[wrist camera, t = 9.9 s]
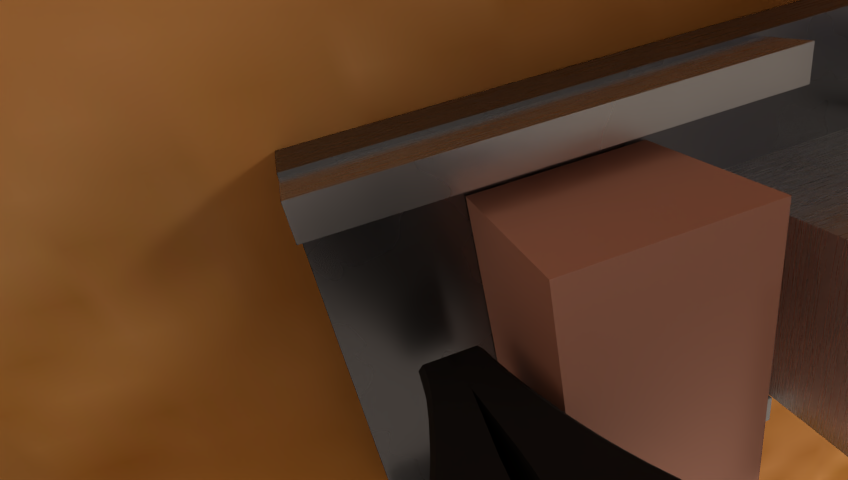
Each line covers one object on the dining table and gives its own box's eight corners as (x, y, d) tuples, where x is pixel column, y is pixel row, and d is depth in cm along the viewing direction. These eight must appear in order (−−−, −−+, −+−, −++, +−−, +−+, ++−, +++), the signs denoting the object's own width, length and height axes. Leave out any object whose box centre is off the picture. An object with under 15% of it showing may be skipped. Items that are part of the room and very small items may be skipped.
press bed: (921, -35, 13) (1308, -51, 8) (856, 300, 18) (1079, 415, 13) (274, 150, 11) (286, 278, 6) (392, 480, 15) (453, 703, 11)
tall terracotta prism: (646, 139, 11) (792, 195, 8) (650, 388, 14) (756, 496, 11) (465, 196, 11) (549, 280, 7) (513, 442, 14) (584, 571, 11)
